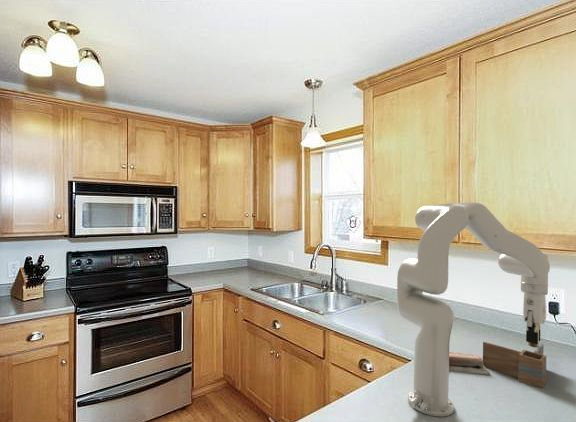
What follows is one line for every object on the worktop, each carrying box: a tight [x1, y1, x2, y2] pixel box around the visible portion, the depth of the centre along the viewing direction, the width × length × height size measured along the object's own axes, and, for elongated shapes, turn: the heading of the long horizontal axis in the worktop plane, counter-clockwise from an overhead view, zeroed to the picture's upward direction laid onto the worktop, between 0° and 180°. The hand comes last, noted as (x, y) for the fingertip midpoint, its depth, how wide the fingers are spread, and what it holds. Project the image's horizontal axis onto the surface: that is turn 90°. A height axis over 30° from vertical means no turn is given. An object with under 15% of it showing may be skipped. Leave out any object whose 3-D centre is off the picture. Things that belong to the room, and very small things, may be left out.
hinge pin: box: [522, 317, 546, 348], centre depth 115 cm, size 6×6×10 cm
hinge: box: [482, 341, 548, 389], centre depth 124 cm, size 19×19×9 cm
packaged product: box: [449, 351, 490, 376], centre depth 126 cm, size 18×5×10 cm
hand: (533, 340), depth 115 cm, fingers closed on hinge pin, 3 cm apart
